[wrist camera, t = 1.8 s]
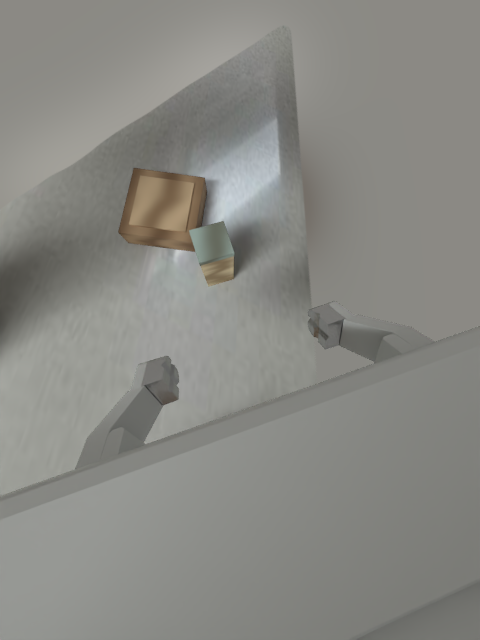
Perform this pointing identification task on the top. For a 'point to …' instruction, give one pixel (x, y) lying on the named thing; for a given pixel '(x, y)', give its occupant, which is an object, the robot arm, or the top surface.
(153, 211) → the base slab
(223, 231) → the tan tall block
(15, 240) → the top surface
